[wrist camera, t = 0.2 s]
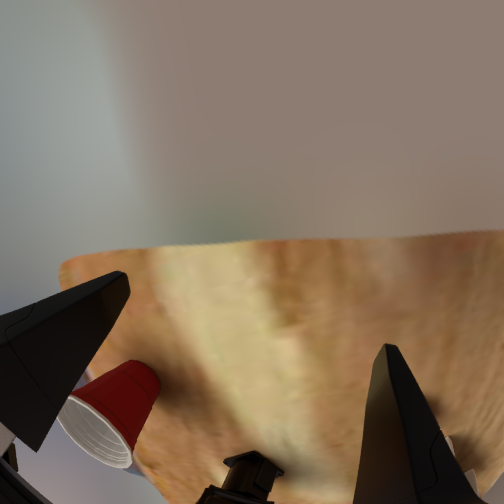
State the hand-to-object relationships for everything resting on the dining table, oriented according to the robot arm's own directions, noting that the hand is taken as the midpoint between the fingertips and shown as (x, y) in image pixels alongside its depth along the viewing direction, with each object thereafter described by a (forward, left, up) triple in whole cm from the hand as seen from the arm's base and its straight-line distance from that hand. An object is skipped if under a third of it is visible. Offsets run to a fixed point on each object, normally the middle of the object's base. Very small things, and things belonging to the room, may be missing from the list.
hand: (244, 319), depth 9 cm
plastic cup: (-28, -2, -16) cm, 32 cm away
